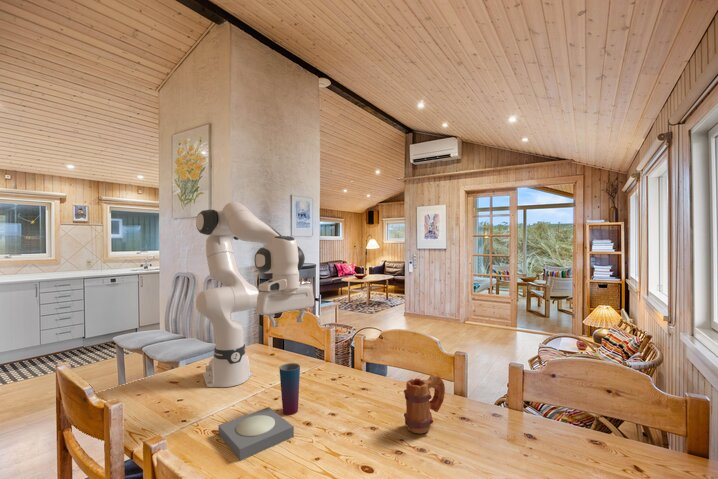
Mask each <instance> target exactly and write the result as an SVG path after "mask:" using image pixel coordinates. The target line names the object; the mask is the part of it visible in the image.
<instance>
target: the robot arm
mask: <svg viewBox="0 0 718 479" xmlns="http://www.w3.org/2000/svg"><path fill="white" fill-rule="evenodd" d="M195 224H196V229H197V231H198V232H199V233H200V234H203V235H205V236H208V237H207V238H206V241H205V253H206V256H205V257H206V260H207V266H208V271H209V275H210V277H211V278H212V280H215V281H217V282H219V283H221V284H222V285H224V286H222V287H221V286H220V287H211V288H209V289H208V288H207V289H204V290H201V291H200V292H199V293H198V295H197V296H196V298H195V307H196V309H197V312H198V313H199V314H200V315H202V316H204V317H205V318H207V319H208V321H209V322H210V323H211V325H212V327H213V330H214V339H215V346H214V350H213V357H211V360H209V362H208V365H205V372H203V373H202V377H203V381H204V383H205V387H206V388H214V387H215V388H229V387H236V386H238V385H239V386H240V385H241V384H243V383H246V382H247V381H248V380H249V378H250V377H252V375H253V371H251V370H250V361H249V356H248V355H247V354H246V344H245V339H244V338H245V334H244V333H245V332H244V330H245V329H244V326H243V324H241V323H240V322H238V321H236V320H234V319H232V318H231V314H233V313H238V312H245V311H248V310H251V309H254V308H256V313H258V314H259V315H261V316H266V315H267V318H268V320H270V322H271V323H270V324H271V327H272V328H278V327H279V321H277V320H275V318H274V317H275V316H276V315H275V314H279V313H285V312H286V313H287V312H292V311H296V310H298V312H299V314H298V316H296V317H295V318H296V323H302V322H304V318H303V317H304V316H305V313H306V309H309V308H313V307H314V306H315V297H314V296H315V295H314V291H313V290H314V288H313V284H312V282H309V280H307V281H306V280H305V281H300V272H299V271H300V270H301V269H302V268H303V266H304V264H305V260H306V259H305V254H304V252H303V249H301V247H300V246H298V242H297V240H296V238H295V237H293V236H288V235H282V234H281V233H280V232H278V231H277V230H276V229H274V228H273V227H271V226H270V225H268V224H267V223H265V222H264V221H262V220H260V219H259V218H258V217H257V216H256V215H254V214H253V212H252V211H251V210H250V209H249V208H247V207H246V206H245V205H244V204H242V203H240V202H238V201H231V202H228V203H227V204H225V205H224V206H223V208H222V210H219V209H205V210H201V211H200V212H199V213H198V214H197V216H196V221H195ZM233 240H234V241H235V240H236V241H238V240H240V241H242V242H248V243H258V244H265V246H263V247H259V248H258V250H257V251H256V253H255V254H254V266H255V268H256V269H257V271H259V272H260V273H261V274H272V278H270V279H269V280H267V281H264V282H261V283H260V284H258V288H257V287H256V286H255V285H253V284H251V283H249V282H248V281H247V280H246V279H245V278H244V277H243V276H242V274H241V273H240V270H239V268H238V265H237V262H236V257H235V252H234V249H233V244H232V243H233V242H232V241H233Z"/></svg>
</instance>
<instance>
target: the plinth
mask: <svg viewBox="0 0 718 479" xmlns="http://www.w3.org/2000/svg"><path fill="white" fill-rule="evenodd" d="M217 429H218V436H219V438H220V439H221V440H222V441H223V443H224V444H225V445H226V446H227V447H228V448H229V449H230V450H231V452H232V453H233V454H234V455H235V457H236V458H237V459H238V460H239V461H243V460H246V459H247V458H249V457H251V456H252V457H253V456H254V455H257V454H259V453H260V452H263V451H265V450H267V449H271V448H273V447H274V446H276V445H277V446H278V445H279V444H281V443H283V442H286V441H287V440H290V439H291V438H294V437H295V431H294V430H295V428H294V425H293V424H291V423H289V422H288V420H286V419H285V418H283V417H282V416H281V415H280V414H278V413H277V412H275V411H274V410H273V409H271V408H270V407H265V408H262V409H259V410H257V411H254V412H252V413H249V414H246V415H243V416H240V417H237V418H234V419H232V420H229V421H225V422H222V423H221V424H218V428H217Z"/></svg>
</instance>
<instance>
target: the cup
mask: <svg viewBox="0 0 718 479" xmlns="http://www.w3.org/2000/svg"><path fill="white" fill-rule="evenodd" d="M278 369H279V378H280V391H281V392H280V394H281V404H282V405H281V407H282V408H281V409H282V414H284V415H286V416H291V415H296V414H297V413H298V412H299V399H300V397H299V395H300V394H299V393H300V392H299V391H300V374H301V373H300V372H301V364H299V363H296V362H289V363H284V364H281V365H280V366H279V368H278Z"/></svg>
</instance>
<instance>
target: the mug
mask: <svg viewBox="0 0 718 479" xmlns="http://www.w3.org/2000/svg"><path fill="white" fill-rule="evenodd" d="M445 387H446V386H445V384H444V381H443V379H442V377H440V376H439V375H437V374H436V373H432V374H430V376H428V378H427V379H426V380H425V379H421V378H415V379H414V378H411V379H410V380H409V379H408V381H406V389H404V390H403V393H404V399H405V400H406V401H405V403H406V404H405V407H406V412H404V413H403V417H404V424H405V425H406V428H407V430H408V431H409V432H410V431H411V432H412V433H415V434H425V433H427V432H429V431H430V429H431V427H432V425H433V423H434V420H433V415H432V412H431V410H432V411H433V412H435V413H438V411H439V410H440V409H441V407H442V404H443V402H444V399H445V393H446V388H445ZM431 388H432V389H434V392H433V397H432V395H431V390H430V389H431Z"/></svg>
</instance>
